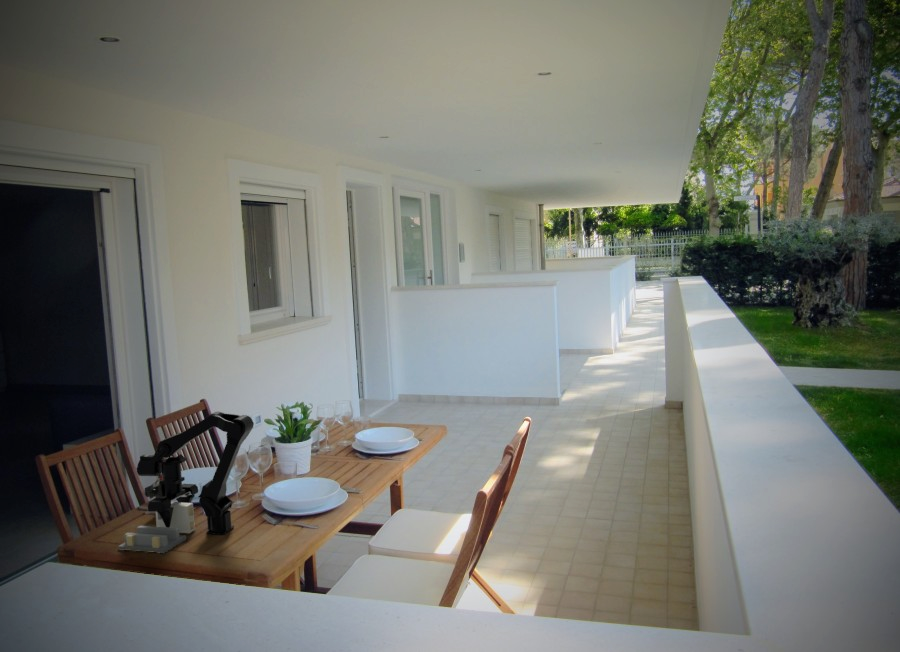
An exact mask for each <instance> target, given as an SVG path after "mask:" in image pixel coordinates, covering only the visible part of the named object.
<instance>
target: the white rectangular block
mask: <svg viewBox="0 0 900 652" xmlns="http://www.w3.org/2000/svg"><path fill="white" fill-rule="evenodd" d="M171 507H173V513H172V519H171V524H170V527H169V528H179V534H190V533H192V532H194V531H195V530H196V526H195V525H196V524H195V513H194V511H195V510H194V503H193V502H191V503H183V502H178V501H171ZM154 512H155V522H156V523H155V524H156V527H166V526H165V524H164V522H163V520H162V518H161V516H160V514H159V513H158V512H156V511H154ZM167 528H168V527H167Z"/></svg>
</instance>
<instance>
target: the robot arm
mask: <svg viewBox="0 0 900 652" xmlns="http://www.w3.org/2000/svg"><path fill="white" fill-rule="evenodd" d="M214 427H215V428H217V429H219V430H220V431H222V432H224V433H226V444H225V446H224V449H223V451H222V454H221V456H220V459H219V461H218V464H217V468H216V470H215V472H214V475H213V478H212V479H211V480H210V481H208V482H206V483H205V484H203V485H202V488H201V492H200V494H199V495H198V496H197V497H198V498H199V499H198V503H199V505H200V507H201V508H202V510H203V511H204V514H205V516H206V520H207V523H206V524H207V530H206V532H205V534H208V535H220V536H223V535H225V534H227V533H228V532H230V531H232V530H233V529H234V528H235V525H232V516H231V515H232V514H231V510H230V509H231V508H232V506H233V500H231V499H230V498H229V496H228V495H227V489H228V488H227V481H228V479H229V476H230V474H231V471H232V469H233V466H234V464H235V462H236V458H237V456H238V453H239V451H240V448H241V446H242V444H243V442H244V441H245V440H246V439H247V438H248V437H249V435H250V433H251V431H253V429H254V421H253V419H252V418H251V416H249V415H247V414H242V415H239V414H235V413H226V412H222V411H215V412H213V413H211V414H209V415H208V416H207V417H205V418H204V419H201V421H199V422H197V423H195V424H194V425H192V426H191V427H189V428H186V430H184V431H182V432H178V433H175V434H174V435H171V436H169V437H167V438H164V439H163V440H160V441H159V442H158V443H157V446H156V451H155V452H154V454H153V455H151V454H142V455H139V460H138V463H137V467H136V473H137V475H138V476H139V477H159V476H161V474H162V478H163V480H161V481H160V482H159V484H158V485H156V486H152V484H151V485H149V486H146V487H145V488H144V495H145V497H146V498H149V499H152V500H150V501H148V503H147V505H146V506H147V511H148V512H149V511H150V512H155V511H156V512H158V513H159V514H160V516H161V518H162V520H163V522H164V524H165V526H166V527H168V528H169V527H170V524H171V519H172V513H173V507H171V502H174V501H176V502H183V503H192V501H193V499H194V498H195V495H196V494H198V493H199V486H197V484H196V483H183V482H184V481H185V479H186V477H185V476H183V475H182V467H181V466H182V465H181V464H183V463H185V462H186V461H187V460H188V458H187V457H185V456H184V455H182V454H179V455H177V456H174V455H176V454H178V453H179V452H180V451H182V450H183V448H185V447H186V446H187V445H188V444H189V443H190V442H191V441H192V440H194V439H196V438H198V437H199V436H201V435H202V434H205V433H206V432H207V431H209V430H211V429H212V428H214ZM158 495H159V497H165V498H156V497H155V496H158ZM153 498H154V499H153ZM156 512H155V513H156Z"/></svg>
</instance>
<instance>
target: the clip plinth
mask: <svg viewBox="0 0 900 652" xmlns="http://www.w3.org/2000/svg"><path fill="white" fill-rule="evenodd" d="M136 531H137V532H126V533H125V534H124V537H123V538H124V542H123V543H121V544H120V545H117V550H118V549H131V550H140V551H154V552H160V553H164V554H166V553H167V552H169V551H170V550H173V547H174V546H175V547H177V546H178V545H180V544H181V543H183V542H185V541H186V540H187V535H184V534H180V533H179V528H167V527H157V526H151V525H150V526H149V525H138V526H137V527H136ZM176 545H177V546H176ZM175 547H174V548H175ZM168 550H169V551H168ZM166 551H167V552H166ZM165 552H166V553H165ZM160 553H159V554H160Z"/></svg>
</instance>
